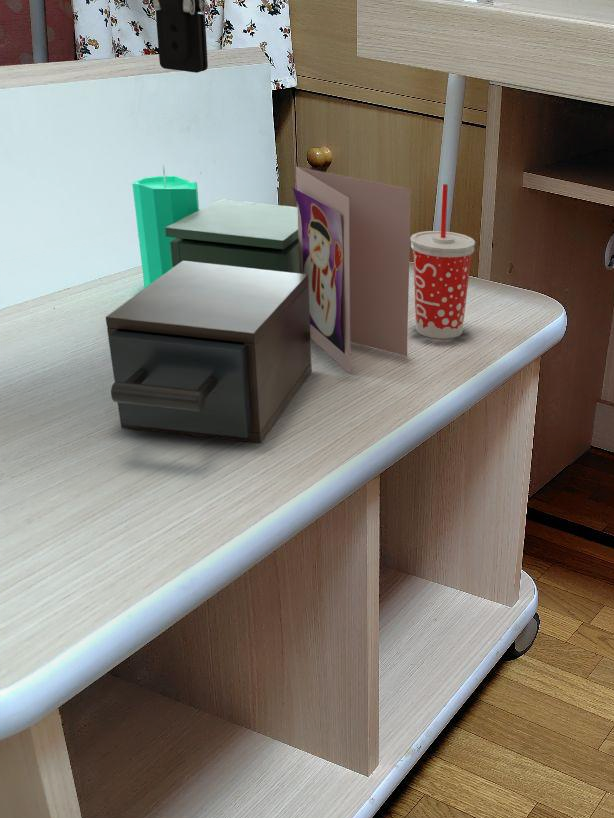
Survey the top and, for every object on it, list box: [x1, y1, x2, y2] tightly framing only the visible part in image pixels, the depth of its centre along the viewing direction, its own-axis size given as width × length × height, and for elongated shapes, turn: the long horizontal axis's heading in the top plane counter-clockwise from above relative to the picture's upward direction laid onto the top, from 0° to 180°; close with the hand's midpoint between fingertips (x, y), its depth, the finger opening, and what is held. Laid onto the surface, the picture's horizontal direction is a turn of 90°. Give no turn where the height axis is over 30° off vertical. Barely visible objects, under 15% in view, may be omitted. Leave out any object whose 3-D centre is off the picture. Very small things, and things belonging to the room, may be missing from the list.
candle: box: [131, 165, 200, 289], centre depth 99 cm, size 6×6×12 cm
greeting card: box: [291, 166, 412, 374], centre depth 88 cm, size 11×7×15 cm, turn 33°
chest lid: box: [165, 198, 298, 249], centre depth 94 cm, size 14×11×1 cm
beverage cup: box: [410, 183, 476, 340], centre depth 94 cm, size 6×6×14 cm
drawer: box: [107, 331, 252, 438], centre depth 75 cm, size 18×9×7 cm, turn 176°
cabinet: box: [105, 261, 312, 444], centre depth 78 cm, size 15×11×9 cm
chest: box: [170, 238, 300, 274], centre depth 97 cm, size 14×11×8 cm
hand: (184, 69), depth 77 cm, fingers closed
